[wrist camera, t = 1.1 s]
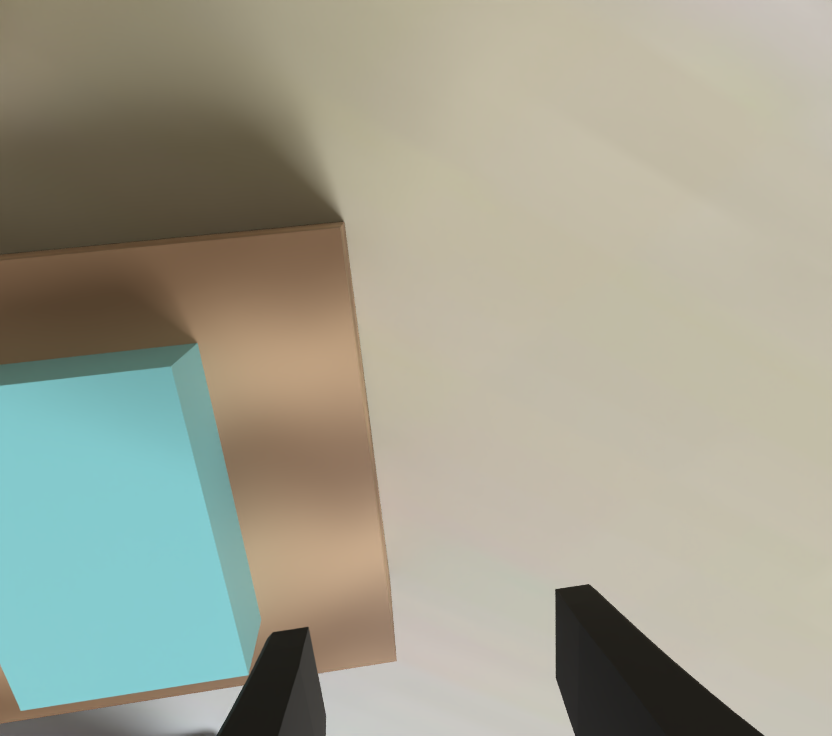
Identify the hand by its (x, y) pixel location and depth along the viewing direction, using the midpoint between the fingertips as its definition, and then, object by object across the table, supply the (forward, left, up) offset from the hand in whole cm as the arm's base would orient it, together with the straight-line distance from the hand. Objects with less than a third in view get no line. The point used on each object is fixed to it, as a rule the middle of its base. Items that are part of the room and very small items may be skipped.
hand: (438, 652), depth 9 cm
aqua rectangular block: (0, +8, -6) cm, 10 cm away
